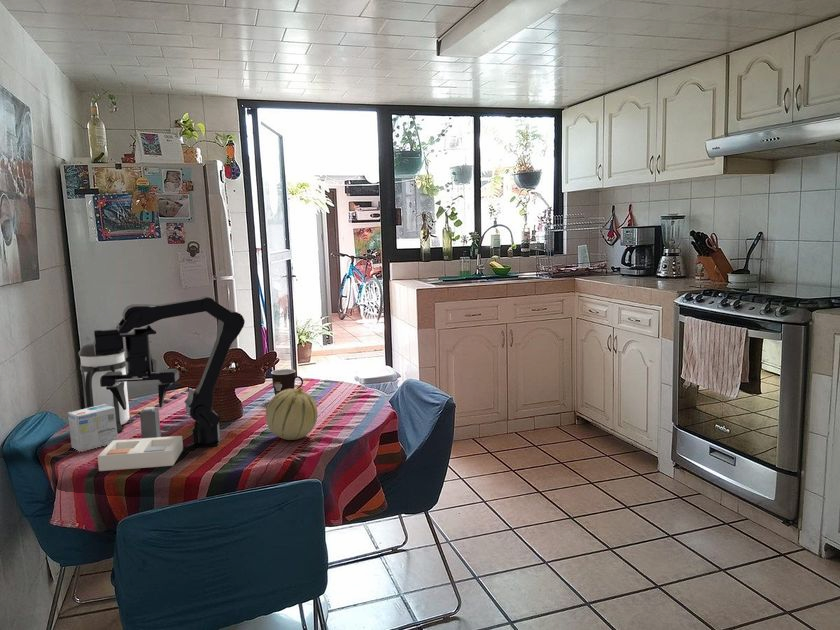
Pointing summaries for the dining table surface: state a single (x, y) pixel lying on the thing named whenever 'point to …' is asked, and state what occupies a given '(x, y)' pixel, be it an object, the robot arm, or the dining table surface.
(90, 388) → the coffee press
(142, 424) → the grey rectangular block
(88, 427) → the light bulb box
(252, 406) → the dining table surface
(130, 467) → the socket block
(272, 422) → the cantaloupe
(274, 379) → the coffee mug
